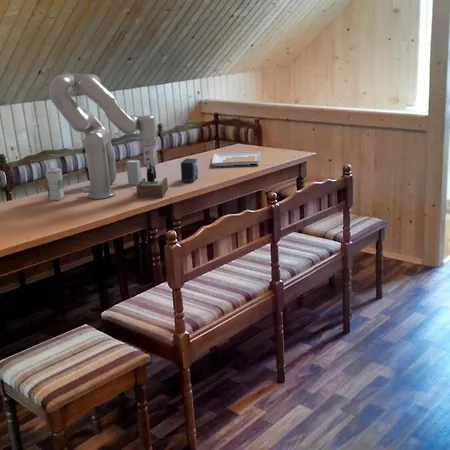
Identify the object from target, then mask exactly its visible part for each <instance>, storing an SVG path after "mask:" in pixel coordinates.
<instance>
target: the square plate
mask: <svg viewBox="0 0 450 450" xmlns="http://www.w3.org/2000/svg"><path fill="white" fill-rule="evenodd" d="M260 153H261V152H260V151H259V150H258V151H256V150H255V151H252V150H251V151H244V150H243V151H227V152H215V153H213V156H212V159H211V165H212V166H214V167H221V166H224V167H231V166H230V165H248V166H251V165H250V164H256V165H257V164H259V163H260V162H261V156H260ZM248 156H255V161H231V162H223V160H226V158H232V157H248Z"/></svg>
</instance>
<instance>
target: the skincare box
mask: <svg viewBox="0 0 450 450" xmlns="http://www.w3.org/2000/svg"><path fill="white" fill-rule="evenodd" d="M125 164H126V171H127V172H126V173H127V181H128V183H127V184H128V185H129V186H137V185H138V184H139V183H140V181H141V180H142V179H143V178H142V168H141V161H140V160H137V159H136V160H131V159H129V160H128V161H126V162H125Z"/></svg>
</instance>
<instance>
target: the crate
mask: <svg viewBox="0 0 450 450" xmlns="http://www.w3.org/2000/svg"><path fill="white" fill-rule="evenodd" d="M153 173H154V169H153ZM161 182H162V180H157V181H156V180H154V182H148V181H146V182H143V183H142V184H141V186H149V185H160V184H161Z"/></svg>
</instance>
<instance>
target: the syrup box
mask: <svg viewBox="0 0 450 450" xmlns="http://www.w3.org/2000/svg"><path fill="white" fill-rule="evenodd" d="M45 178H46V186H47V188H46V189H47V196H48V201H61V200H63V199H64V198H65V189H64V181H63V173H62V168H58V167H57V168H56V167H54V168H49V169H47V170H45ZM62 198H63V199H62Z"/></svg>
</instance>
